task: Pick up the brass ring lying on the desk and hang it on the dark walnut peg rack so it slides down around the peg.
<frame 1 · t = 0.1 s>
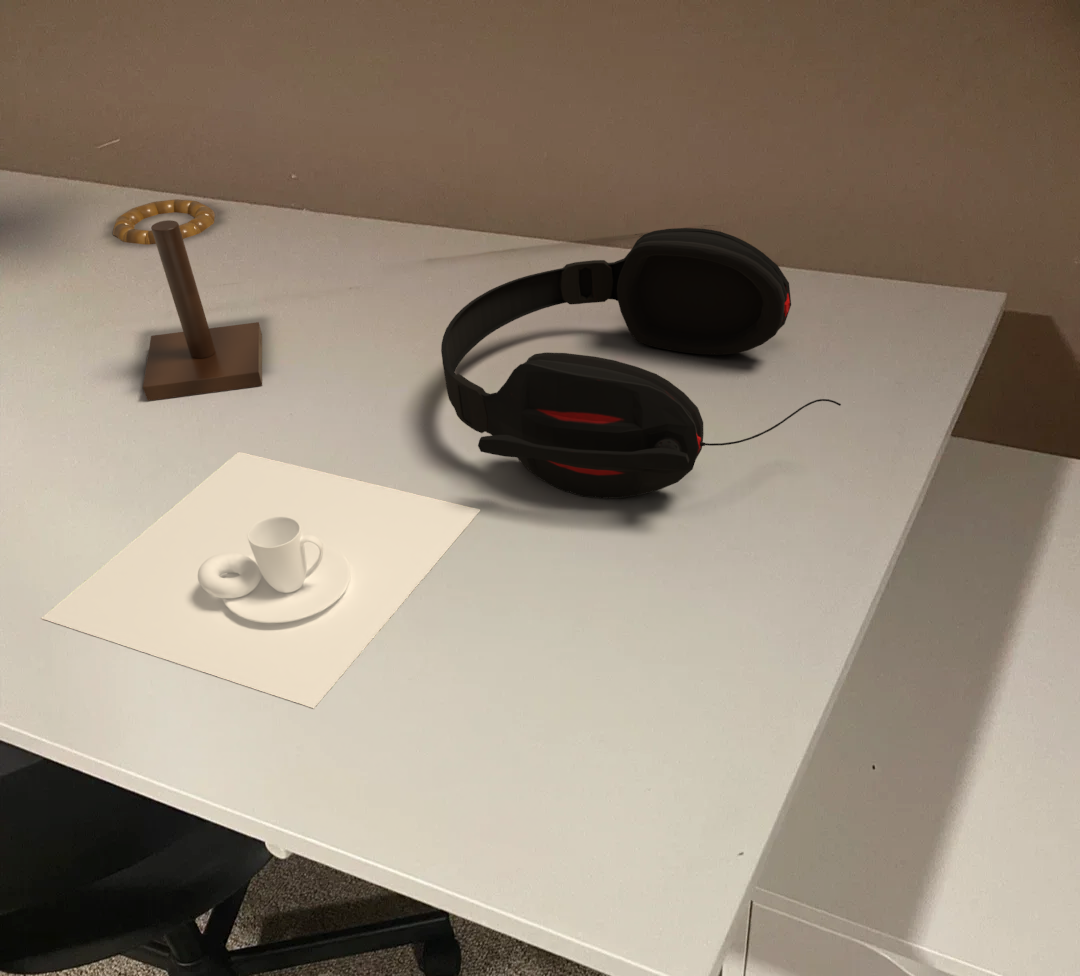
teacup and saucer: (271, 564, 65), on the table
headset: (638, 417, 75), on the table
ring: (165, 225, 102), point 1 cm above the table
rack: (207, 366, 83), on the table
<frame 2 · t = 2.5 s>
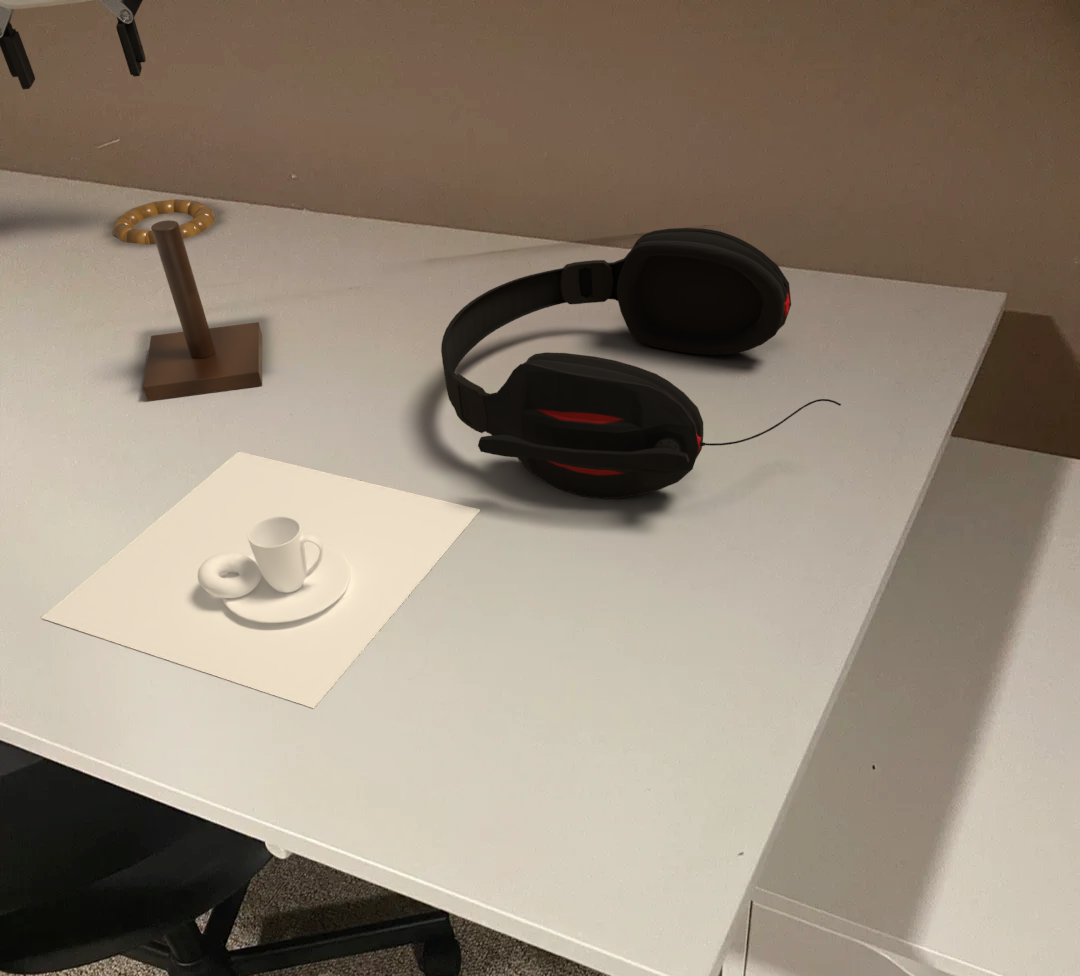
hand: (83, 78, 92), 14 cm above the table, tool pointing down, fingers open, 9 cm apart
nothing on the table moved.
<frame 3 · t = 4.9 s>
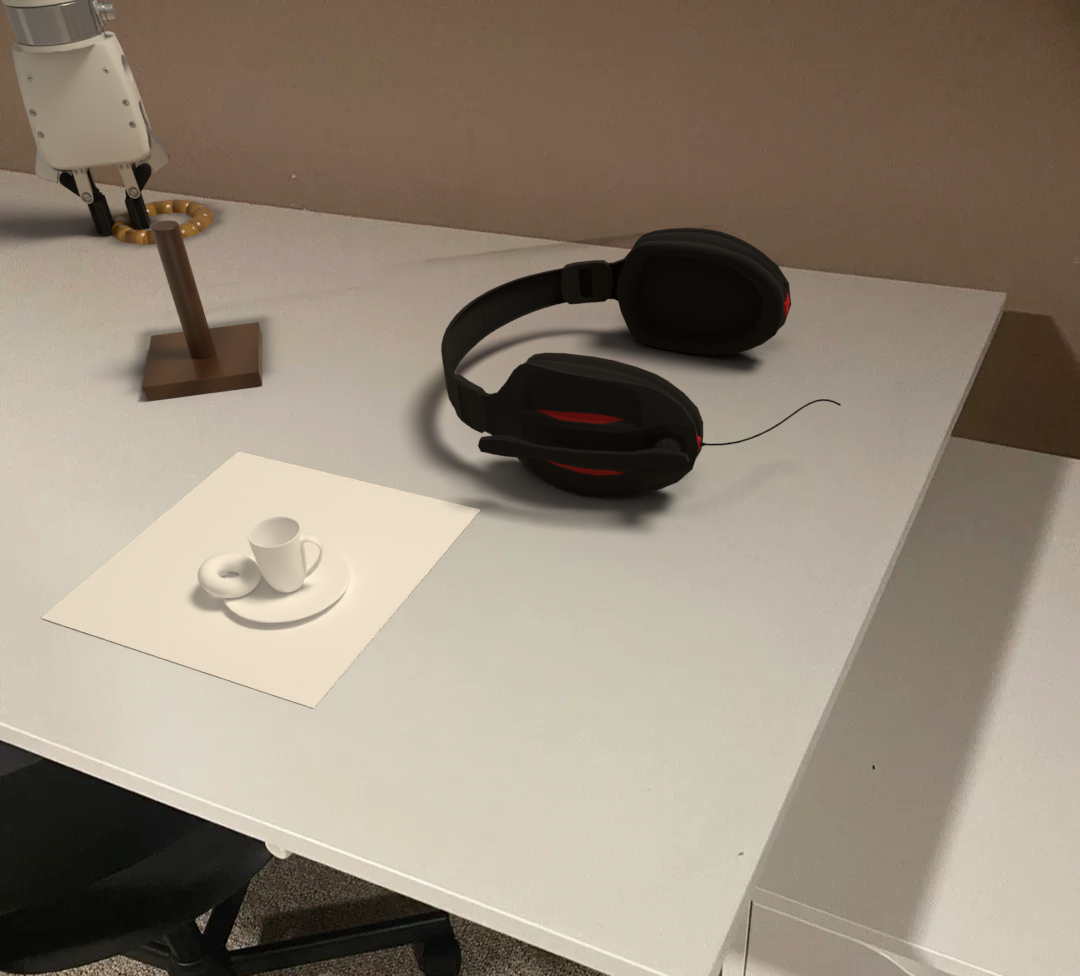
hand: (127, 236, 102), 0 cm above the table, tool pointing down, fingers closed on ring, 2 cm apart
ring: (163, 225, 102), point 1 cm above the table, touching gripper
everything else where it was.
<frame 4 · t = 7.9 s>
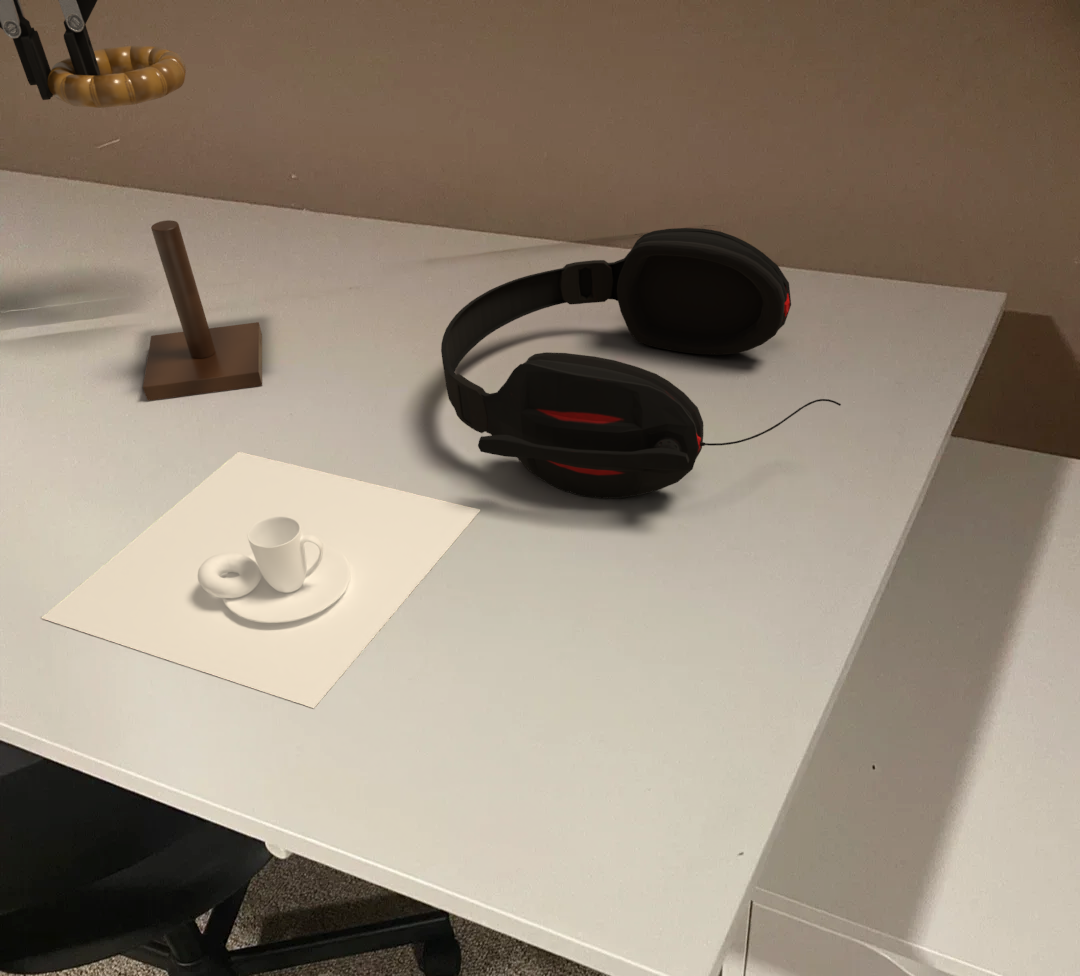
hand: (69, 90, 77), 18 cm above the table, tool pointing down, fingers closed on ring
ring: (118, 75, 77), point 18 cm above the table, touching gripper
everything else where it was.
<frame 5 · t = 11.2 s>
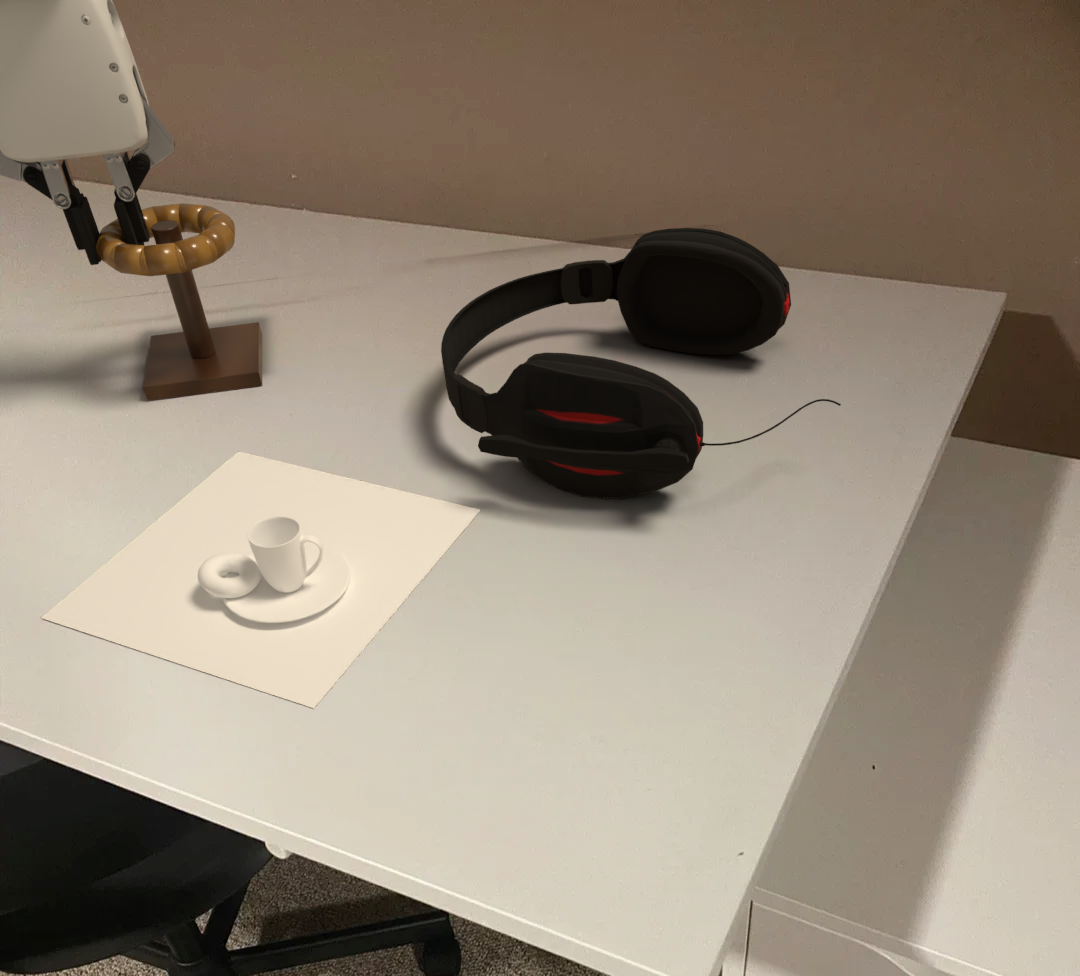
hand: (117, 253, 76), 10 cm above the table, tool pointing down, fingers closed on ring
ring: (167, 238, 76), point 10 cm above the table, touching gripper
everything else where it was.
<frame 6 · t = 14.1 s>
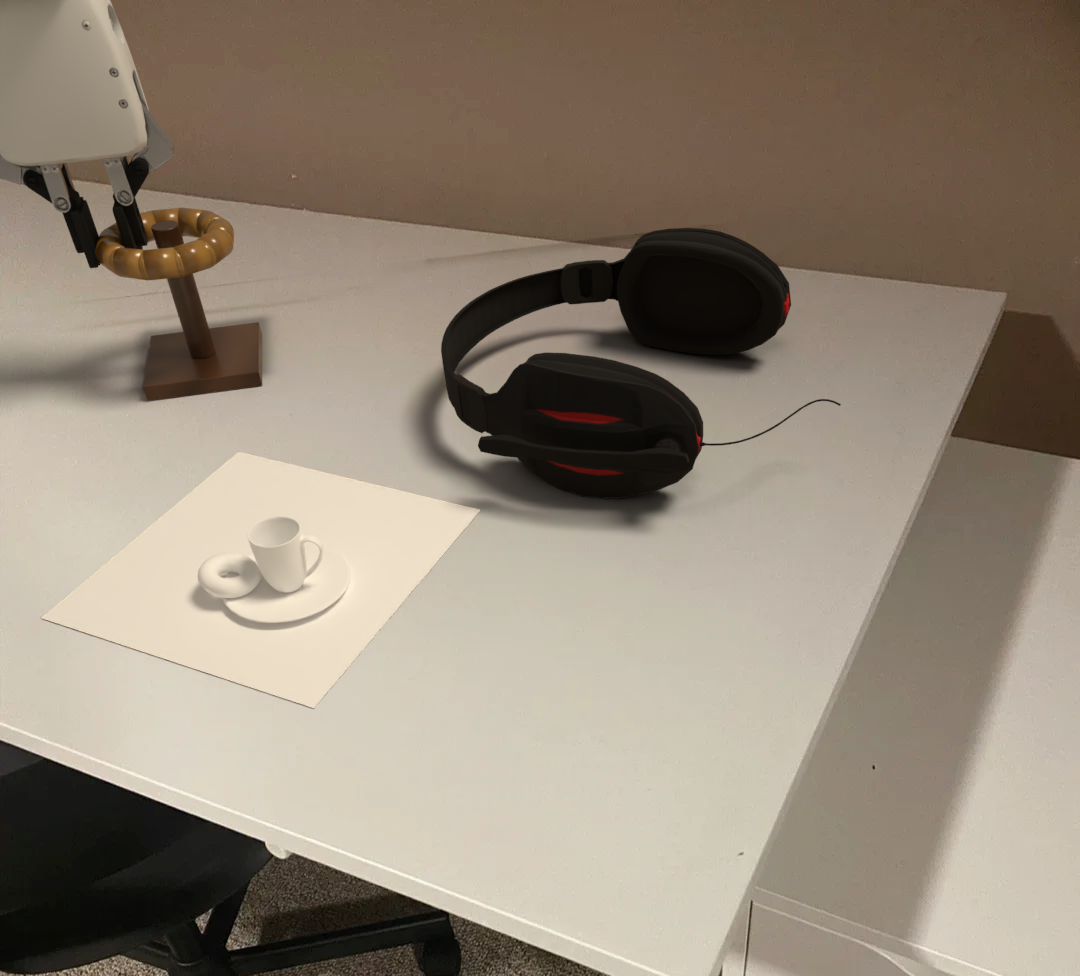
hand: (116, 256, 76), 9 cm above the table, tool pointing down, fingers closed on ring
ring: (166, 242, 76), point 10 cm above the table, touching gripper
everything else where it was.
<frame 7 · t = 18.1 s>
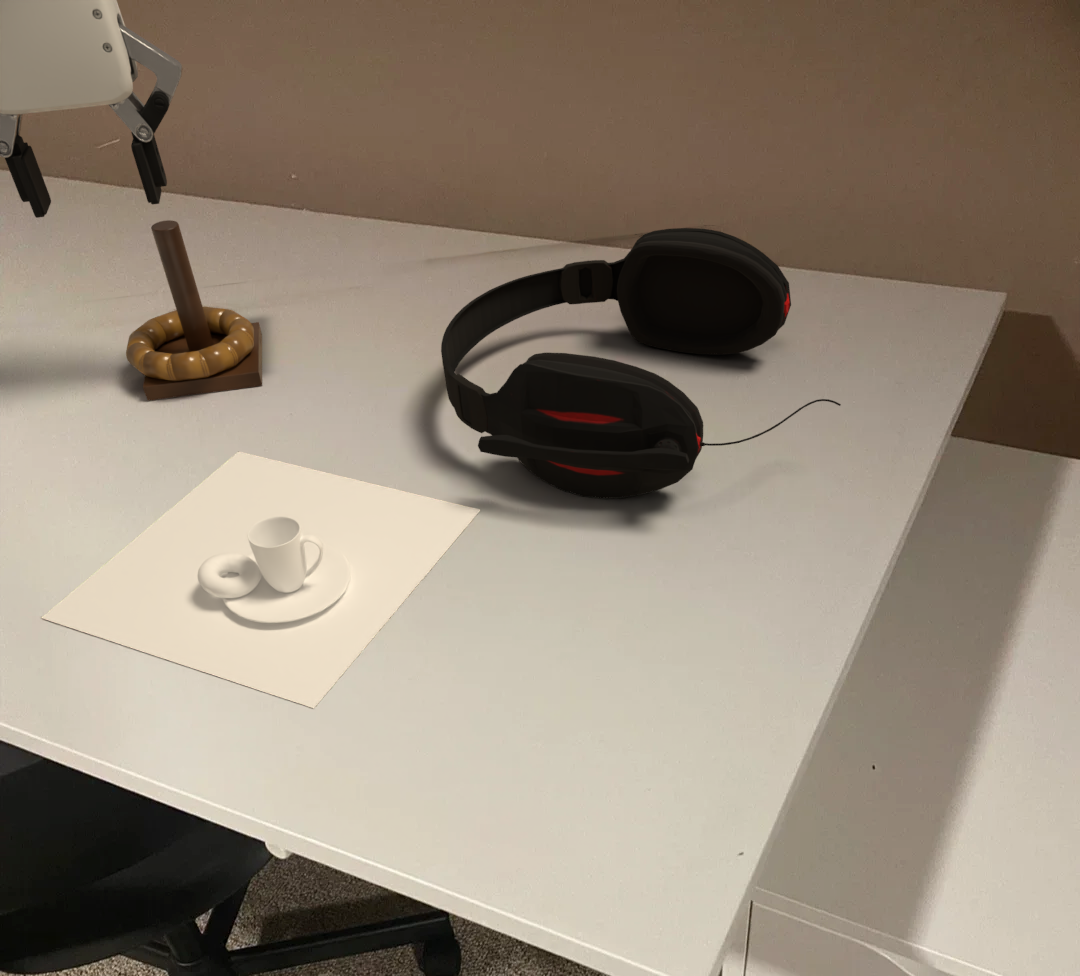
hand: (99, 202, 73), 13 cm above the table, tool pointing down, fingers open, 7 cm apart
ring: (191, 342, 81), point 2 cm above the table, touching rack
everything else where it was.
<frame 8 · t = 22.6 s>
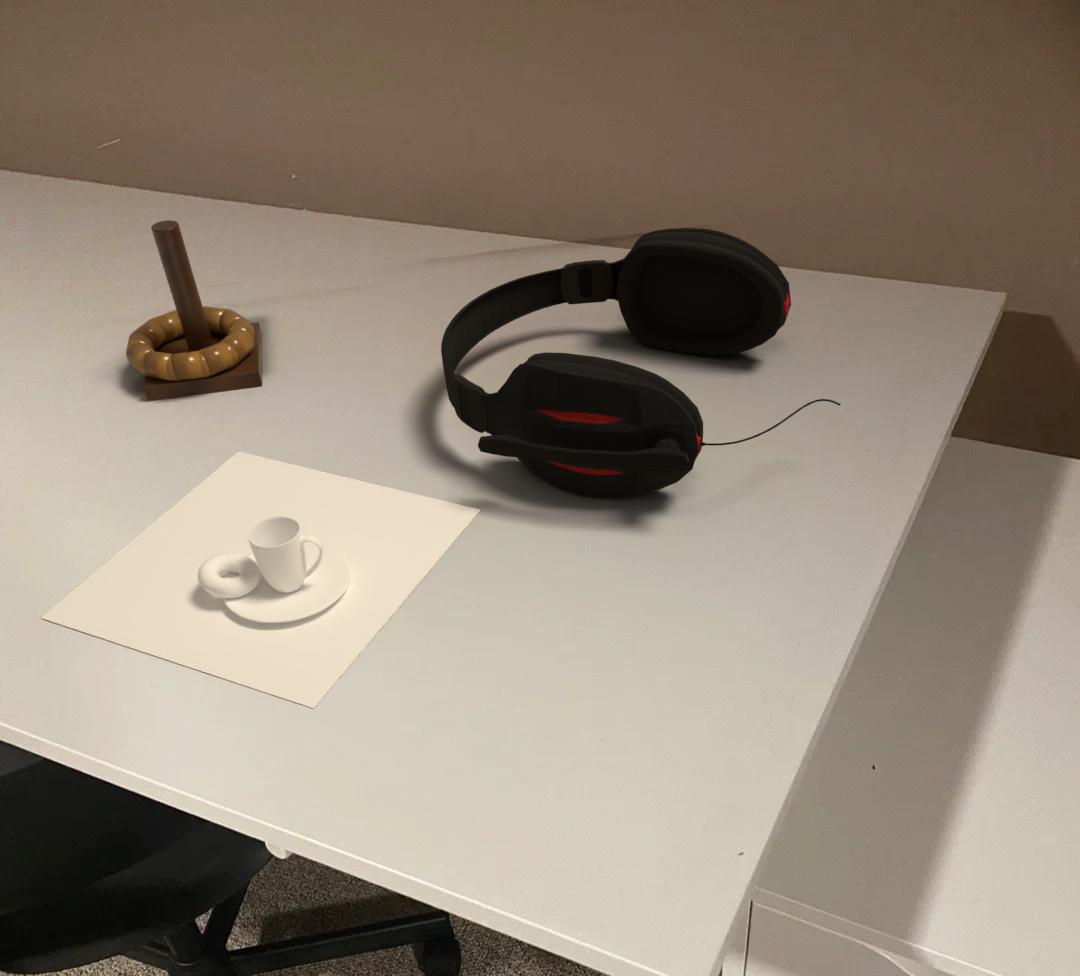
nothing on the table moved.
at the end: ring 0.7 cm from the rack (horizontally); ring point 2.2 cm above the table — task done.
